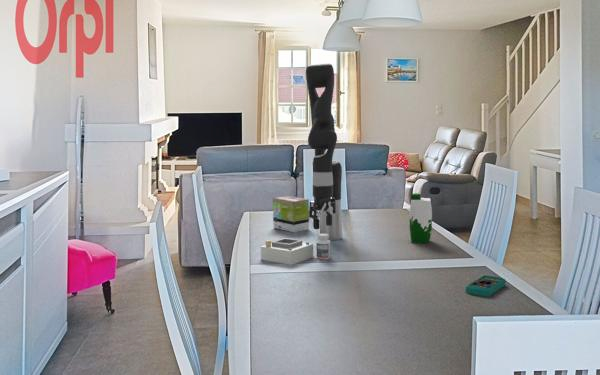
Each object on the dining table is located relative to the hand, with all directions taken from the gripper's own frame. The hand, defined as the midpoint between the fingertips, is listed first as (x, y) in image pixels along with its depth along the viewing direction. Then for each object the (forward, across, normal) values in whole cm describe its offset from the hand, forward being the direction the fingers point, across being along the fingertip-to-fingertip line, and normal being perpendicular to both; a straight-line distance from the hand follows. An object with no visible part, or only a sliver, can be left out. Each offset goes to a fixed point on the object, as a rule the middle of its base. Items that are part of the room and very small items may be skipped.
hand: (322, 227), depth 217 cm
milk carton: (+11, -46, +19) cm, 51 cm away
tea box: (+11, -38, -43) cm, 59 cm away
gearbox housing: (+12, +8, -11) cm, 18 cm away
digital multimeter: (+13, +5, +63) cm, 64 cm away
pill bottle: (+12, 0, 0) cm, 12 cm away
